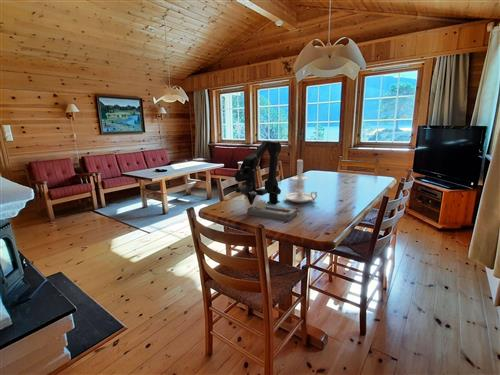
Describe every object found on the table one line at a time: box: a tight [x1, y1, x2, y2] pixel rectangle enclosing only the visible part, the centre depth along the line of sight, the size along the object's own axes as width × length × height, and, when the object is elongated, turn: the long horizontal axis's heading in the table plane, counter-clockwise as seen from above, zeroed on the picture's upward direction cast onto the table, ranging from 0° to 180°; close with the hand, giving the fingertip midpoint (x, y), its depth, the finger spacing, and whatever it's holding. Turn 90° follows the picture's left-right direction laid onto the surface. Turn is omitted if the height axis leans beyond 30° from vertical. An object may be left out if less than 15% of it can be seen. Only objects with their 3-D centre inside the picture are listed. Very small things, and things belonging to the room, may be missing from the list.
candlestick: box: [283, 159, 319, 204], centre depth 175 cm, size 21×25×28 cm
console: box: [246, 204, 298, 222], centre depth 154 cm, size 12×26×3 cm, turn 58°
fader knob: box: [255, 199, 267, 209], centre depth 157 cm, size 4×4×5 cm
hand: (251, 204), depth 161 cm, fingers closed
